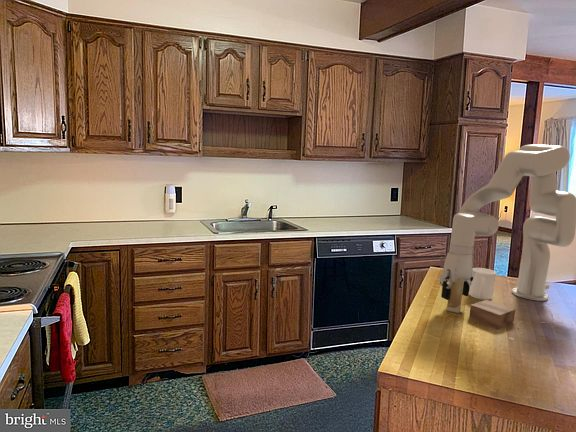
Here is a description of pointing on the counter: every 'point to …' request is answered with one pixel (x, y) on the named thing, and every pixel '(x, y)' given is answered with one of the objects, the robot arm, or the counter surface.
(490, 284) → the mug
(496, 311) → the walnut block
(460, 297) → the skincare box
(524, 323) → the counter surface
